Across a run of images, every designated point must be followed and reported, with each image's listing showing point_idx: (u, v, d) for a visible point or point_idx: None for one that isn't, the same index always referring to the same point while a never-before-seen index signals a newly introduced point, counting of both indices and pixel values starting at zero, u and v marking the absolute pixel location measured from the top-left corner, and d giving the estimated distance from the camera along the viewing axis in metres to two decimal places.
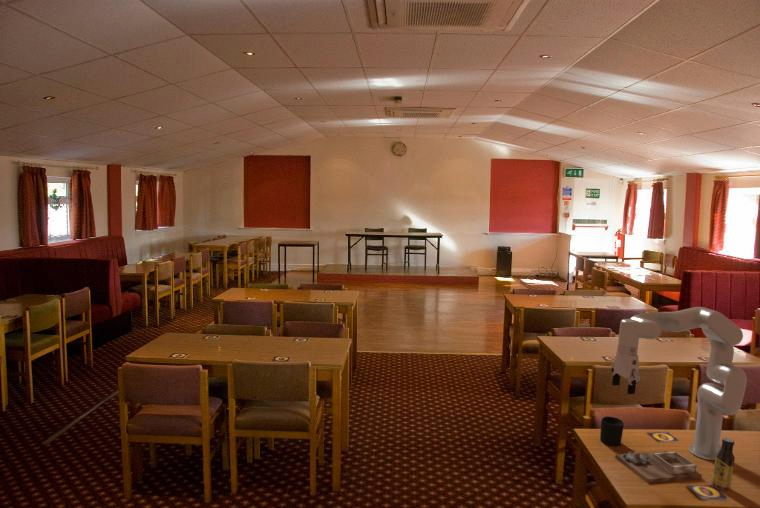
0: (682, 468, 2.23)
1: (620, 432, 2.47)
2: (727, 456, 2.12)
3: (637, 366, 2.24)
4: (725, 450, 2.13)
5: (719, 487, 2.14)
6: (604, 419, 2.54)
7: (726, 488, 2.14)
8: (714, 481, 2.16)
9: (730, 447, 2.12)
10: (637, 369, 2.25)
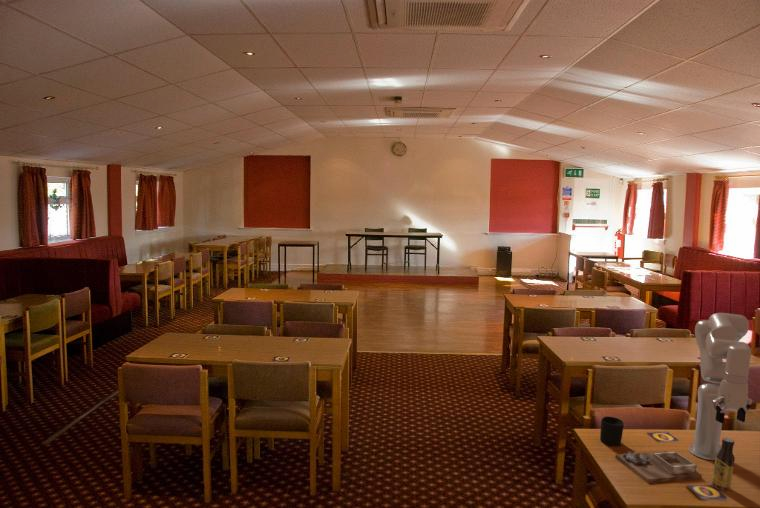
0: (682, 468, 2.23)
1: (620, 432, 2.47)
2: (727, 456, 2.12)
3: None
4: (725, 450, 2.13)
5: (719, 487, 2.14)
6: (604, 419, 2.54)
7: (726, 488, 2.14)
8: (714, 481, 2.16)
9: (730, 447, 2.12)
10: None
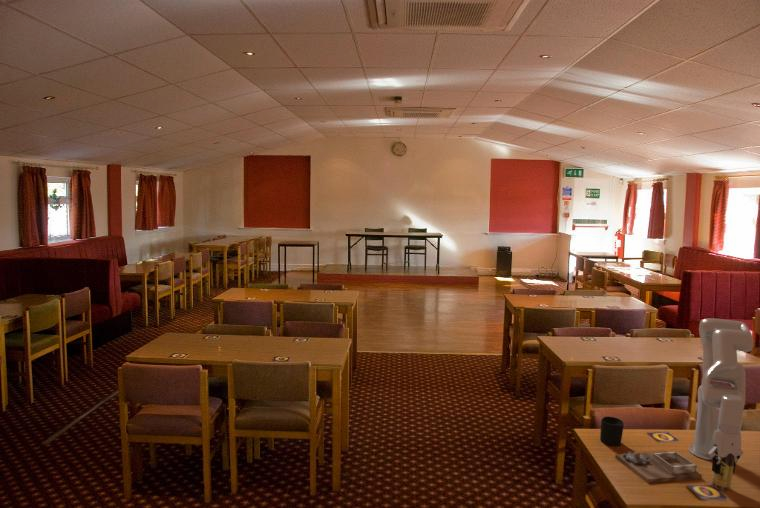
0: (682, 468, 2.23)
1: (620, 432, 2.47)
2: (727, 456, 2.12)
3: None
4: None
5: (719, 487, 2.14)
6: (604, 419, 2.54)
7: (726, 488, 2.14)
8: (714, 481, 2.16)
9: None
10: None
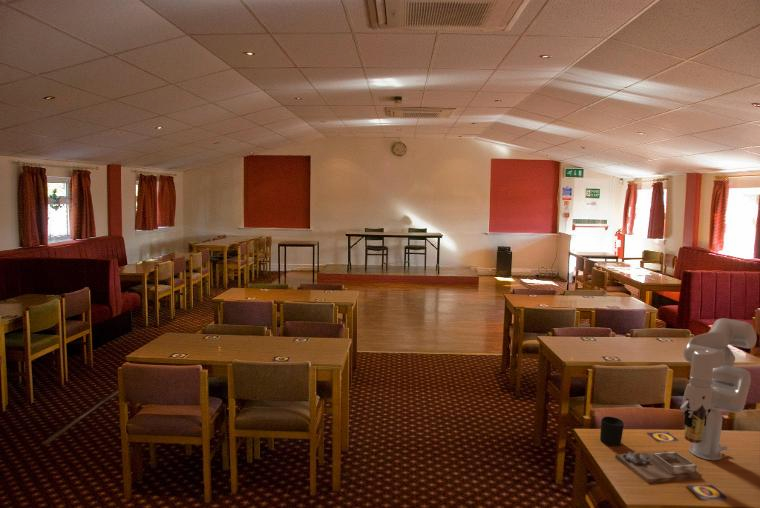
0: (682, 468, 2.23)
1: (620, 432, 2.47)
2: (699, 409, 2.19)
3: None
4: None
5: (691, 440, 2.21)
6: (604, 419, 2.54)
7: (698, 441, 2.20)
8: (686, 434, 2.22)
9: None
10: None
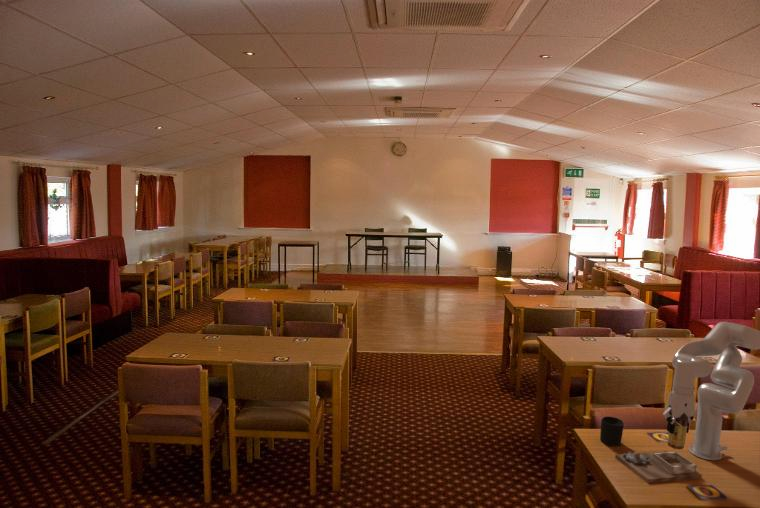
0: (682, 468, 2.23)
1: (620, 432, 2.47)
2: (681, 416, 2.24)
3: None
4: None
5: (673, 446, 2.26)
6: (604, 419, 2.54)
7: (680, 447, 2.25)
8: (669, 441, 2.27)
9: None
10: None
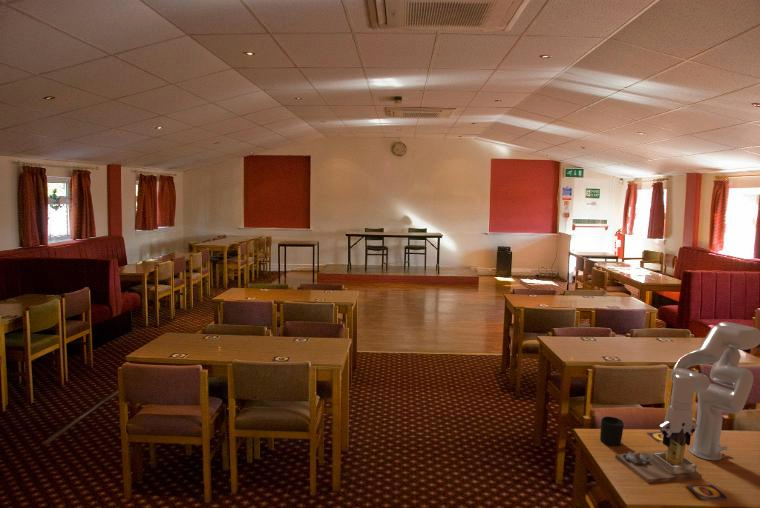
0: (682, 468, 2.23)
1: (620, 432, 2.47)
2: (679, 436, 2.25)
3: None
4: None
5: (672, 465, 2.27)
6: (604, 419, 2.54)
7: None
8: (667, 460, 2.28)
9: None
10: None
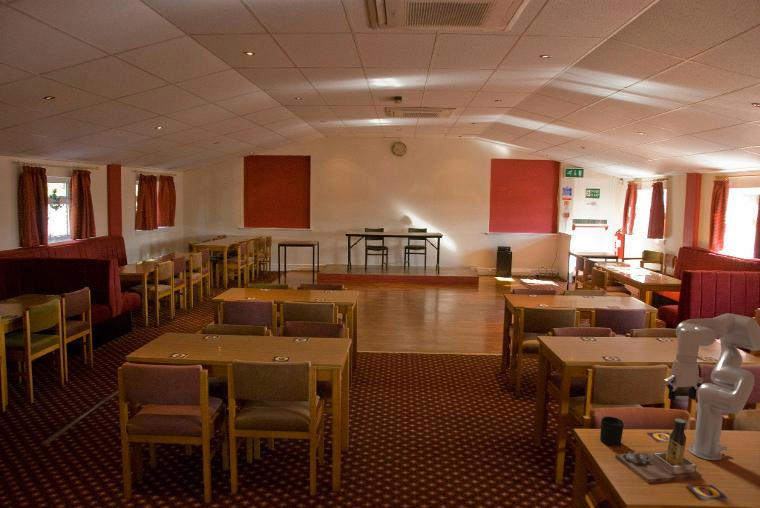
0: (682, 468, 2.23)
1: (620, 432, 2.47)
2: (679, 436, 2.25)
3: None
4: (677, 430, 2.25)
5: (672, 465, 2.27)
6: (604, 419, 2.54)
7: None
8: (667, 460, 2.28)
9: (682, 427, 2.24)
10: None
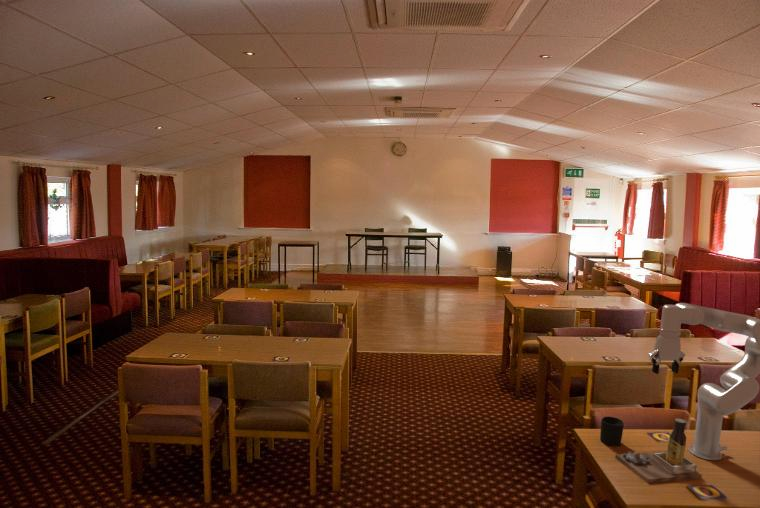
0: (682, 468, 2.23)
1: (620, 432, 2.47)
2: (679, 436, 2.25)
3: None
4: (677, 430, 2.25)
5: (672, 465, 2.27)
6: (604, 419, 2.54)
7: None
8: (667, 460, 2.28)
9: (682, 427, 2.24)
10: None
